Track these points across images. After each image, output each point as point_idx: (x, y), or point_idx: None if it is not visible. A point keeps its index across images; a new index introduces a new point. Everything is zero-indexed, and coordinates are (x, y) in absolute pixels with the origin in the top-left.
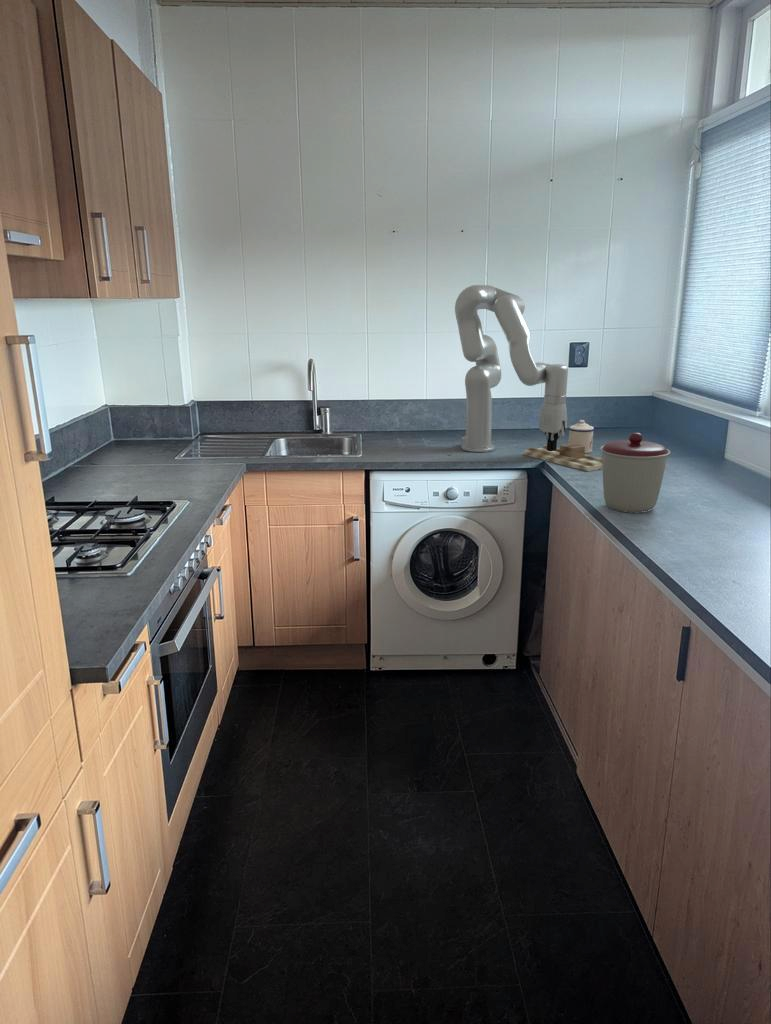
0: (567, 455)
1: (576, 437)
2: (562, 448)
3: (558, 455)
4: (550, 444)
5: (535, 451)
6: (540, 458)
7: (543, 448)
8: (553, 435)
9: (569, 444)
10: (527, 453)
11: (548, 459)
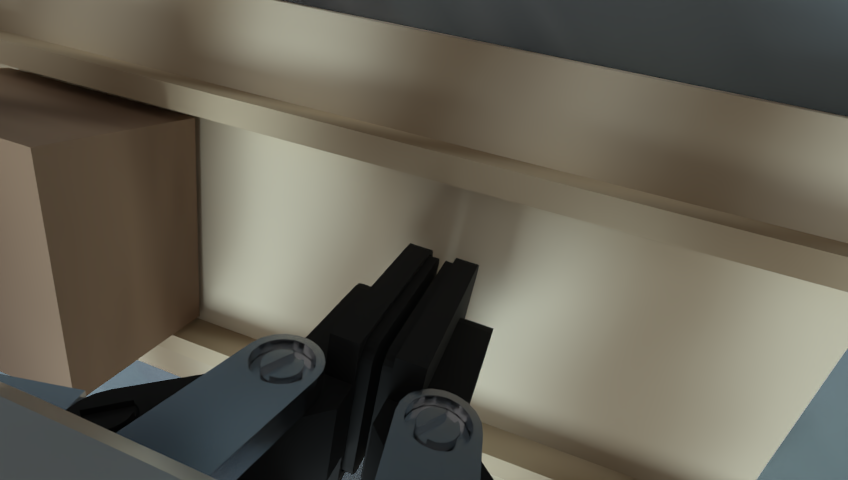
0: (29, 87)
1: None
2: (27, 124)
3: (158, 76)
4: (366, 296)
5: (685, 203)
6: (476, 40)
7: (693, 470)
8: (160, 408)
9: (33, 313)
10: (829, 113)
11: (305, 5)
